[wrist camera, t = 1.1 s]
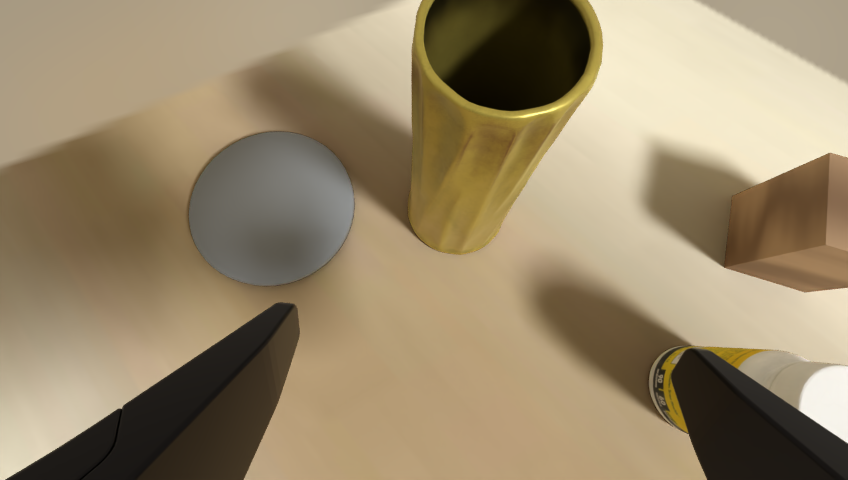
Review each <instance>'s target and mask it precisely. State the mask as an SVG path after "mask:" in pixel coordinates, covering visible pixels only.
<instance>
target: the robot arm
mask: <svg viewBox="0 0 848 480" xmlns="http://www.w3.org/2000/svg"><path fill="white" fill-rule="evenodd" d="M299 334H300V328H299V319H298V310H297V307H296V305H295V304H290V303H281V302H280V303H276V304H274V305H273V306H271V307H270V308H268V309H267V310H265V311H264V312H262V313H261V314H259V315H258V316H256V317H255V318H253V319H252V320H250V321H249V322H247V323H246V324H244V325H243V326H241V327H240V328H238V329H237V330H235V331H234V332H232V333H231V334H229V335H228V336H226V337H225V338H224V339H222V340H221V341H219V342H218V343H216V344H215V345H213V346H212V347H210V348H209V349H207V350H206V351H204V352H203V353H201V354H200V355H198V356H197V357H195V358H194V359H192V360H191V361H189V362H188V363H186V364H185V365H183V366H182V367H180V368H179V369H177V370H176V371H174V372H173V373H171V374H170V375H168V376H167V377H165V378H164V379H162V380H161V381H159V382H158V383H156V384H155V385H153V386H152V387H150V388H149V389H147V390H146V391H144V392H143V393H141V394H140V395H138V396H137V397H135V398H134V399H132V400H131V401H129V402H128V403H126V404H125V405H124V406H123V407H122V409H117V410H116V411H114V412H113V413H111V414H110V415H108V416H107V417H105V418H104V419H102V420H101V421H99V422H98V423H96V424H95V425H93V426H91V427H90V428H88V429H87V430H85V431H84V432H82V433H81V434H79V435H77V436H76V437H74V438H73V439H71V440H70V441H68V442H67V443H65V444H63V445H62V446H60V447H59V448H57V449H55V450H54V451H52V452H51V453H49V454H47V455H46V456H44V457H42V458H41V459H39V460H37V461H36V462H34V463H32V464H31V465H29V466H27V467H26V468H24V469H22V470H21V471H19V472H17V473H16V474H14V475H12V476H11V477H9V478H7V479H6V480H244V478H245V475H246V473H247V471H248V469H249V466H250V464H251V462H252V460H253V458H254V455H255V453H256V451H257V449H258V446H259V444H260V442H261V440H262V438H263V435H264V433H265V431H266V429H267V426H268V424H269V422H270V420H271V418H272V415H273V413H274V411H275V408H276V406H277V404H278V401H279V398H280V395H281V392H282V389H283V386H284V383H285V380H286V377H287V374H288V371H289V368H290V365H291V362H292V358H293V355H294V352H295V349H296V346H297V343H298V340H299ZM671 381H672V385H673V388H674V391H675V394H676V397H677V400H678V403H679V406H680V409H681V412H682V415H683V418H684V421H685V424H686V427H687V430H688V433H689V436H690V439H691V442H692V445H693V447H694V450H695V452H696V455H697V457H698V460H699V462H700V464H701V467H702V469H703V471H704V473H705V476H706V478H707V480H848V443H847V442H845V441H844V440H842V439H841V438H839V437H838V436H836V435H835V434H833V433H832V432H830V431H829V430H827V429H826V428H824V427H823V426H821V425H820V424H818V423H817V422H815V421H814V420H813V419H811V418H810V417H808V416H807V415H805V414H804V413H802V412H801V411H799V410H798V409H796V408H795V407H793V406H792V405H790V404H789V403H787V402H786V401H784V400H783V399H781V398H780V397H778V396H777V395H775V394H774V393H773V392H771V391H770V390H768V389H767V388H765V387H764V386H762V385H761V384H759V383H758V382H756V381H755V380H753V379H752V378H750V377H749V376H747V375H746V374H744V373H743V372H741V371H740V370H738V369H737V368H735V367H734V366H733V365H731V364H730V363H728V362H727V361H725V360H724V359H722V358H721V357H719V356H718V355H716V354H715V353H713V352H712V351H710V350H707V349H700V348H688V349H686V350H685V351H684V353H683V354H682V356H681V357H680V359H679V361H678V362H677V364H676V365H675V367H674V368H673V370H672V373H671Z"/></svg>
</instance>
